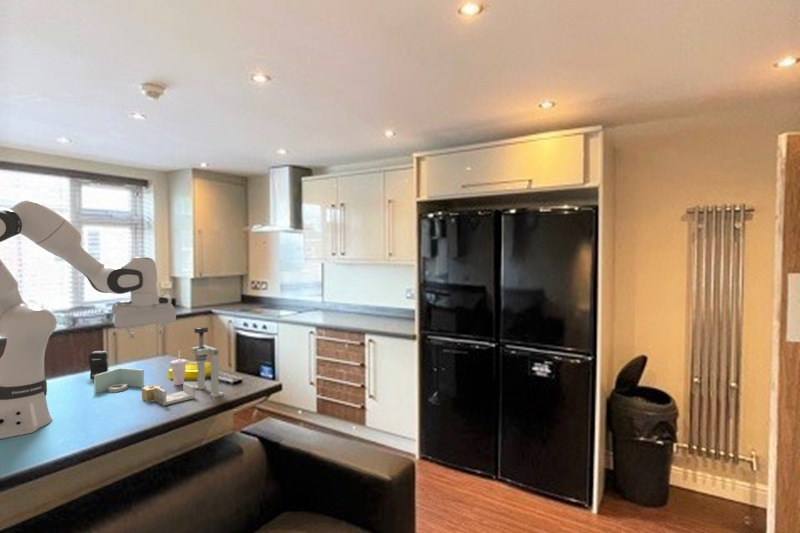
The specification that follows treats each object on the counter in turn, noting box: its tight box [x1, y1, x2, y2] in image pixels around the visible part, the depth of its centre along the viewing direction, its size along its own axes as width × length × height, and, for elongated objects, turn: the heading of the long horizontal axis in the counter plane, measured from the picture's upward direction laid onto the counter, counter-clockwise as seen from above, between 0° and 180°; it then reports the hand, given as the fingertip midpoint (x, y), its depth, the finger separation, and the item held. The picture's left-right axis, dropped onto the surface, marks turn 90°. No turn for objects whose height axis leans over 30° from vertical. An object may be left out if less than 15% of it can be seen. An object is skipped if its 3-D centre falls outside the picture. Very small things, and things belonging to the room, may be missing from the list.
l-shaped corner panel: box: [93, 367, 145, 394], centre depth 179 cm, size 12×12×8 cm
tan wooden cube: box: [141, 384, 162, 403], centre depth 169 cm, size 5×5×5 cm
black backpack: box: [88, 350, 110, 379], centre depth 195 cm, size 7×4×11 cm, turn 100°
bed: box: [154, 382, 196, 407], centre depth 168 cm, size 12×8×5 cm, turn 140°
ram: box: [193, 326, 209, 362], centre depth 175 cm, size 5×5×12 cm
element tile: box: [168, 361, 211, 381], centre depth 201 cm, size 15×15×5 cm
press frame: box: [190, 344, 225, 399], centre depth 176 cm, size 7×17×18 cm, turn 50°
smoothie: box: [169, 350, 188, 386], centre depth 187 cm, size 6×6×14 cm
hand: (146, 336), depth 168 cm, fingers open, 8 cm apart
